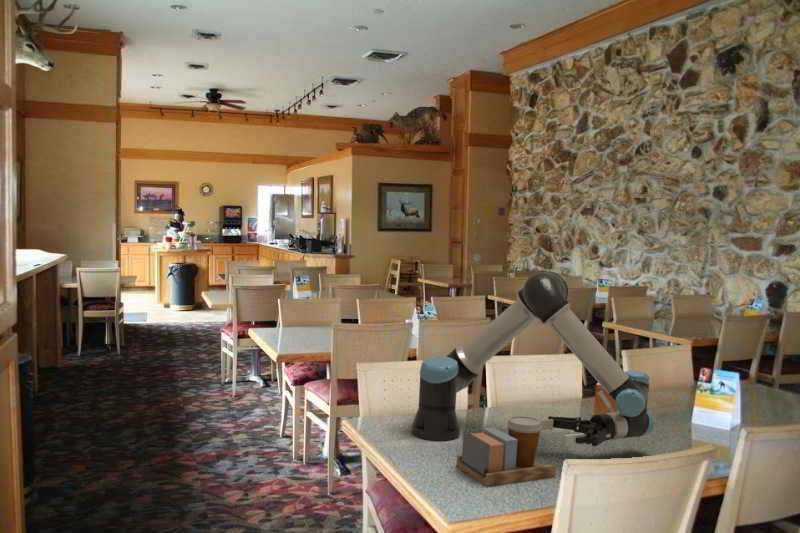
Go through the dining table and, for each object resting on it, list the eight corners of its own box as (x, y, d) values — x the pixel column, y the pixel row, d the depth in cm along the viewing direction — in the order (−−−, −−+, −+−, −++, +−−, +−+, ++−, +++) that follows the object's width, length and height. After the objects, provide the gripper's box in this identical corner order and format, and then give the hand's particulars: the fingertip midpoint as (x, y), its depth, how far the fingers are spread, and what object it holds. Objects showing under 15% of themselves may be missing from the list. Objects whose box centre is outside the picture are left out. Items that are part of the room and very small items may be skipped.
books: (491, 459, 185) (493, 427, 185) (515, 473, 175) (517, 439, 175) (466, 462, 181) (468, 429, 181) (488, 477, 172) (490, 442, 171)
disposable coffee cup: (534, 458, 188) (537, 416, 187) (543, 470, 178) (546, 426, 178) (501, 456, 187) (504, 414, 187) (507, 469, 178) (510, 425, 177)
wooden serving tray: (520, 457, 192) (521, 447, 192) (555, 476, 178) (555, 465, 178) (456, 465, 183) (457, 454, 183) (487, 486, 169) (488, 475, 169)
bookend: (465, 462, 181) (467, 431, 181) (487, 477, 171) (489, 444, 171) (460, 463, 181) (462, 432, 180) (482, 477, 171) (484, 445, 170)
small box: (592, 420, 235) (595, 383, 235) (597, 416, 241) (599, 380, 240) (616, 424, 231) (619, 387, 231) (620, 420, 237) (622, 384, 236)
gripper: (638, 453, 184) (578, 461, 175) (578, 426, 207) (521, 432, 197) (640, 426, 184) (580, 433, 174) (579, 402, 206) (523, 407, 197)
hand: (548, 432), depth 186 cm, fingers open, 13 cm apart
